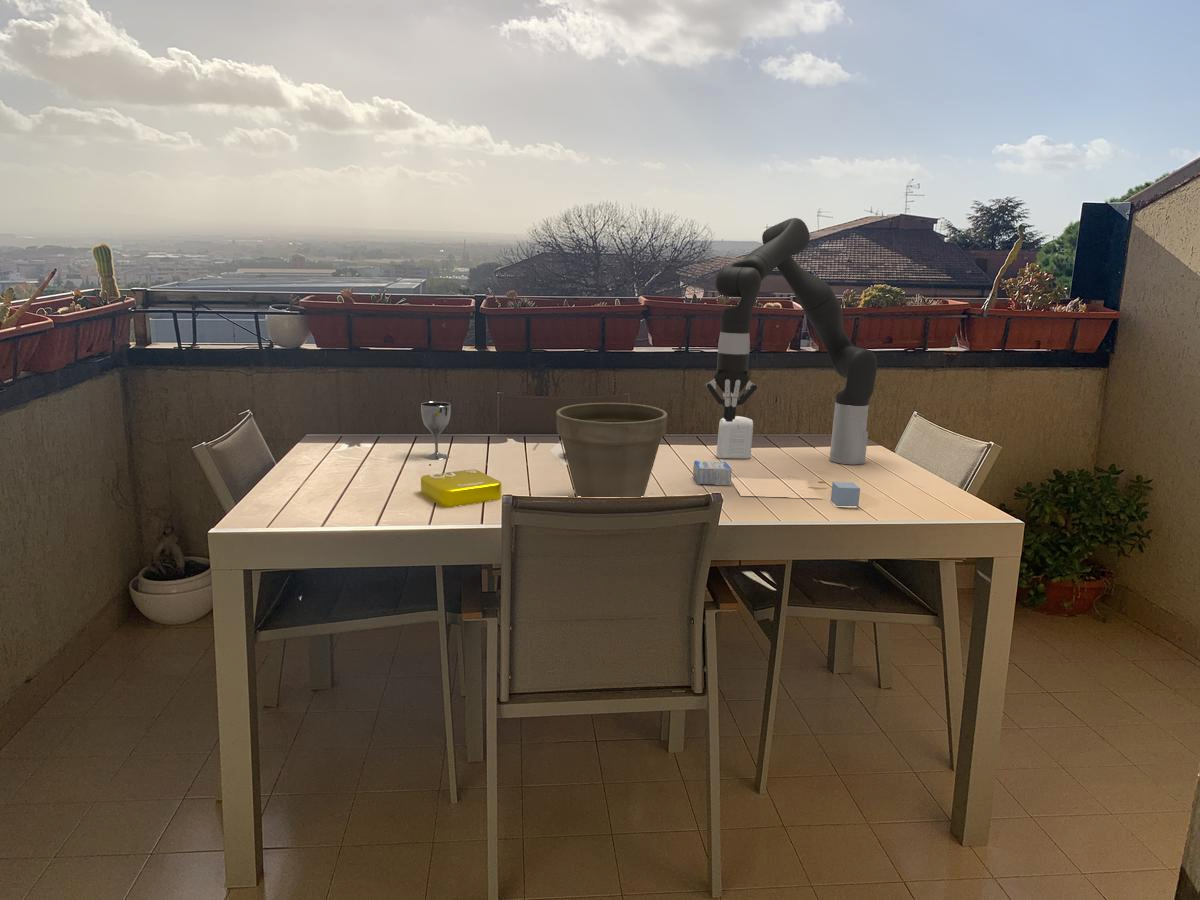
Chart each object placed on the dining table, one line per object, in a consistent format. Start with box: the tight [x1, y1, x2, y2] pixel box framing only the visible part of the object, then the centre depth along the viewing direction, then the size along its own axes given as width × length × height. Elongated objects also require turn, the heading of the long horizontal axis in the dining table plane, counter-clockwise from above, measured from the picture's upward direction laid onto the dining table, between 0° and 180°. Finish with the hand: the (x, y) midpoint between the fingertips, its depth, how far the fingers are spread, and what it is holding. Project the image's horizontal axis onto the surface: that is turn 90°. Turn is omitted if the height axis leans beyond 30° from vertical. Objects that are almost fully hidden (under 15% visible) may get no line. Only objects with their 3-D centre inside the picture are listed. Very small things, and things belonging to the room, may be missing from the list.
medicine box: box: [692, 460, 733, 486], centre depth 200 cm, size 8×4×9 cm
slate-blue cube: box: [830, 481, 861, 507], centre depth 183 cm, size 5×5×5 cm
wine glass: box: [420, 401, 452, 461], centre depth 215 cm, size 8×8×15 cm
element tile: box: [420, 468, 502, 508], centre depth 180 cm, size 15×15×5 cm
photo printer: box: [716, 415, 754, 460], centre depth 226 cm, size 10×4×12 cm, turn 98°
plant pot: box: [555, 402, 668, 497], centre depth 176 cm, size 25×25×22 cm
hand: (728, 421), depth 192 cm, fingers closed
